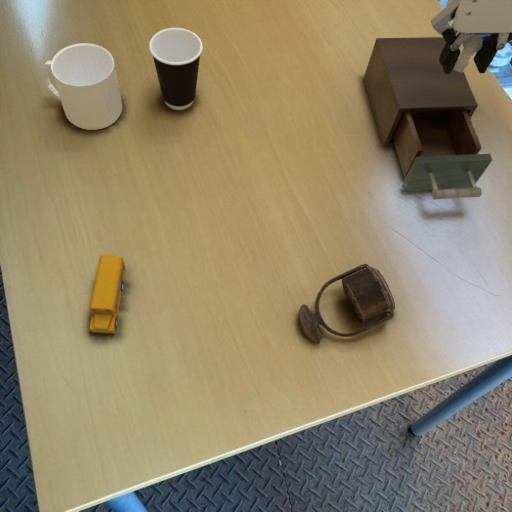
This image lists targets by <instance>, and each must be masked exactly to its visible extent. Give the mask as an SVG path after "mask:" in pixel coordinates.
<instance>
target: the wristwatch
mask: <svg viewBox="0 0 512 512" xmlns="http://www.w3.org/2000/svg"><path fill="white" fill-rule="evenodd" d="M482 41H483V40H482V36H480V35H478V34H477V33H470V34H469V35H468V37H467V38H466V39H465V41H464V42H463V43H462V50H461V53H460V55H459V57H458V59H457V61H456V65H455V67H454V69H453V70H455V71H458V72H460V73H462V72H464V71H465V69H466V68H467V67H468V65H469V61H470V59H471V58H472V56H474V54H475V53H476V52H477V51H479V50H480V49H481V47H482Z"/></svg>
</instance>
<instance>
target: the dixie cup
mask: <svg viewBox="0 0 512 512" xmlns="http://www.w3.org/2000/svg"><path fill="white" fill-rule="evenodd" d="M148 48H149V52H150V54H151V55H152V59H153V63H154V67H155V71H156V75H157V79H158V84H159V88H160V92H161V96H162V100H163V101H164V103H165V104H166V106H167V107H168V108H170V109H172V110H175V111H183V110H186V109H189V108H190V107H191V106H192V105H193V103H194V100H195V98H196V93H197V85H198V76H199V68H200V59H201V55H202V53H203V49H204V47H203V42H202V40H201V38H200V37H199V36H198V35H197V34H196V33H194V32H193V31H191V30H189V29H186V28H183V27H182V28H181V27H168V28H165V29H162V30H159V31H157V32H156V33H155V34H154V35H153V36H152V37H151V38H150V40H149V43H148Z"/></svg>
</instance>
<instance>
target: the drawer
mask: <svg viewBox="0 0 512 512" xmlns="http://www.w3.org/2000/svg"><path fill="white" fill-rule="evenodd" d="M392 138H393V141H394V144H395V146H394V148H395V151H396V153H397V157H398V160H399V163H400V166H401V170H402V174H403V176H404V180H403V182H402V184H401V188H402V191H403V192H414V191H431V197H432V198H431V199H433V200H450V199H466V198H467V199H468V198H469V199H470V198H480V197H481V196H482V193H483V191H482V188H481V187H479V186H477V183H478V182H479V180H480V178H481V177H482V176H483V174H484V173H485V171H486V170H487V168H488V167H489V166H490V164H491V163H492V161H493V158H492V156H491V153H480V151H481V150H482V148H483V147H482V144H481V142H480V139H479V137H478V134H477V132H476V130H475V128H474V124H473V122H472V120H471V118H469V115H468V113H467V110H444V111H414V112H403V113H402V115H401V117H400V120H399V122H398V124H397V127H396V129H395V131H394V133H393V136H392Z"/></svg>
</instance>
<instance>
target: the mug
mask: <svg viewBox="0 0 512 512" xmlns="http://www.w3.org/2000/svg"><path fill="white" fill-rule="evenodd" d="M49 69H50V70H51V73H52V76H53V80H54V83H55V86H56V87H55V86H54V85H53V84H52V83H51V80H50V78H49V73H48V72H49ZM40 79H41V82H42V85H43V87H44V88H45V89H46V90H47V91H49V93H50V94H51V95H52V96H53V97H54V98H56V99H57V100H59V101H61V105H62V108H63V112H64V115H65V117H66V119H67V120H68V121H69V122H70V123H71V124H72V125H74V126H75V127H77V128H78V129H79V128H80V129H83V130H87V131H96V130H101V129H105V128H108V127H110V126H112V125H113V124H114V123H116V121H117V120H119V118H120V116H121V114H122V112H123V101H122V97H121V92H120V86H119V81H118V76H117V71H116V64H115V59H114V57H113V55H112V53H111V52H110V51H109V50H108V49H106V48H105V47H103V46H101V45H98V44H95V43H88V42H87V43H86V42H81V43H74V44H70V45H68V46H65V47H64V48H62V49H60V50H59V51H58V52H56V53H55V54H54V56H53V58H52V60H46V62H45V64H44V65H43V66H42V68H41V69H40Z"/></svg>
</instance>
